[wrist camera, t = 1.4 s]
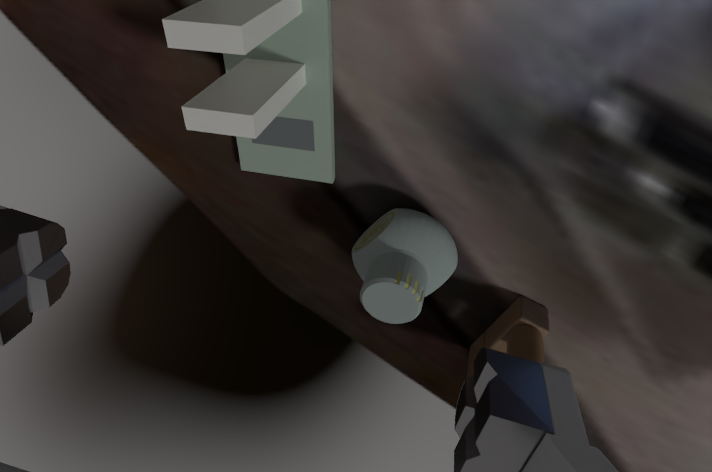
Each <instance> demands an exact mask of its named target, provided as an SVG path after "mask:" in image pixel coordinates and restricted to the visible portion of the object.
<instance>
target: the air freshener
mask: <svg viewBox="0 0 712 472" xmlns="http://www.w3.org/2000/svg"><path fill="white" fill-rule="evenodd" d="M352 259H353V263H354V266H355V268H356V270H357V272H358V274H359V275H360V277H361V278H362V280H363V281H364V283H363V286H362V289H361V292H360V300H361V303H362V304H363V307H364V308H365V309H366V310H367V311H368V312H369V314H371V315H372V316H373V317H375V318H376V319H378V320H380V321H383V322H386V323H391V324H401V323H406V322H410V321H412V320H413V319H415V318H416V317H417V316H418V315H419V314H420V312H421V309H422V305H423V300H424V297H426V296H428V295H429V294H431V293H432V292H434V291H435V290H436V289H438V288H439V287H440V286H441V285H442V284H443V283H445V282H446V281H447V279H448V278H449V277H450V276H451V275H452V274H453V272H454V271H455V269H456V266H457V260H458V256H457V249H456V246H455V243H454V241H453V239H452V237H451V235H450V233H449V232H448V231H447V230H446V229H445V227H444V226H443V225H442V224H440V223H439V222H438V221H437V220H435V219H434V218H432V217H431V216H429V215H427V214H424V213H422V212H419V211H416V210H411V209H401V208H397V209H393V210H391V211H389V212H387V213H386V214H384V215H383V216H382V217H380V218H379V219H378V220H377V221H376V222H374V223H373V224H372V225H371V226H370V227H369V228H368V229H367V230H366V231H365V232H364V233H363V234H362V236H361V237H360V238H359V239H358V240H357V242H356V243H355V245H354V246H353V248H352Z"/></svg>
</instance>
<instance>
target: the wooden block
mask: <svg viewBox="0 0 712 472" xmlns="http://www.w3.org/2000/svg"><path fill="white" fill-rule="evenodd" d="M548 333H549V317H548V309H547V308H545V307H543V306H541V305H539V304H537V303H535V302H533V301H531V300H529V299H527V298H525V297H523V296H519V297H518V298H517V299H516V300H515V301H514V302H513V303H512V304H511V305H510V306H509V307H508V308H507V309H506V310H505V311H504V312H503V313H502V314H501V316H500V317H499V318H498V319H497V320H496V321H495V322H494V323H493V324H492V325H491V326H490V327H489V328H488V329H487V330H486V331H485V332H484V333H483V334H482V335H481V336H480V337H479V338H478V339H477V340H476V341H475V342H474V343H473V344H472V345H471V347H470V355H469V365H468V375H467V378H469V377H471V376H473V375H474V360H475V358H476V356H477V354H478V352H479V351H480V349H481V348H482V347H486V348H490V349H493V350H497V351H501V352H504V353H508V354H511V355H515V356H518V357H522V358H525V359H529V360H532V361H535V362H538V361H539V362H542V363H544V348H543V337H544V336H546V335H547V334H548Z"/></svg>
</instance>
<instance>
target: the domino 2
mask: <svg viewBox="0 0 712 472" xmlns="http://www.w3.org/2000/svg"><path fill="white" fill-rule="evenodd" d="M305 85H306V73H305V64H301V63H291V62H281V61H271V60H261V59H250V58H245V59H244V60H243V61H241V62H240V63H239V64H237V65H236V66H235V67H233V68H232V69H231V70H229V71H228V72H227V73H225V74H224V75H223V76H221V77H220V78H219V79H217V80H216V81H215V82H213V83H212V84H211V85H210V86H208V87H207V88H206V89H204V90H203V91H202V92H200V93H199V94H198V95H196V96H195V97H194V98H192V99H191V100H190V101H188V102H187V103H186V104H184V105H183V106H182V112H183V116H184V120H185V125H186V129H187V130H194V131H201V132H209V133H216V134H224V135H231V136H239V137H246V138H254V139H256V138H257V137H258V136H259V135H260V134H261V133H262V132H263V130H264V129H265V128H266V127H267V126H268V125H269V124H270V123H271V122H272V121H273V120H274V118H275V117H276V116H277V115H278V114H279V113H280V112H281V111H282V110H283V109H284V108H285V106H286V105H287V104H288V103H289V102H290V101H291V100H292V99H293V98H294V97H295V96H296V94H297V93H298V92H299V91H300V90H301V89H302V88H303V87H304V86H305Z"/></svg>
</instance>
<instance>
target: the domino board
mask: <svg viewBox="0 0 712 472" xmlns="http://www.w3.org/2000/svg"><path fill="white" fill-rule="evenodd" d="M301 4H302V13H301V14H300V15H298V16H297V17H295V18H294V19H293V20H291V21H290V22H289V23H287V24H286V25H285V26H283V27H282V28H281V29H279V30H278V31H277V32H275V33H274V34H273V35H271V36H270V37H269V38H267V39H266V40H265V41H263V42H262V43H260V44H259V45H258V46H256V47H255V48H254V49H252V50H251V51H250V52H248V53H247V54H246V55H238V54H228V53H223V56H224V63H225V69H226V73H227V72H228V71H229V70H231V69H232V68H233V67H235V66H236V65H237V64H239V63H240V62H241V61H243V60H244V59H245V58H250V59H261V60H271V61H281V62H291V63H301V64H305V73H306V85H305V86H304V87H303V88H302V89H301V90H300V91H299V92H298V93H297V94H296V96H295V97H294V98H293V99H292V100H291V101H290V102H289V103H288V104H287V105H286V106H285V108H284V109H283V110H282V111H281V112H280V113H279V114H278V115H277V116H276V117H275V118H274V120H273V121H272V122H271V123H270V124H269V125H268V126H267V127H266V128H265V129H264V130H263V132H262V133H261V134H260V135H259V136H258V137H257V138H256V139H254V138H246V137H239V136H236V139H237V145H238V151H239V158H240V164H241V170H245V171H252V172H258V173H265V174H272V175H279V176H285V177H292V178H299V179H306V180H312V181H319V182H326V183H333V181H334V179H335V154H334V111H333V68H332V24H331V0H301Z"/></svg>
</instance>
